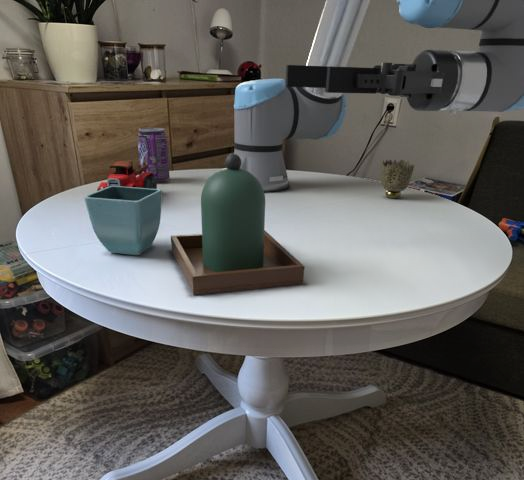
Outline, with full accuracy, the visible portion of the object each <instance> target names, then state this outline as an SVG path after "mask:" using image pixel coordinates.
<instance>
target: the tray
mask: <svg viewBox="0 0 524 480" xmlns="http://www.w3.org/2000/svg"><path fill="white" fill-rule="evenodd" d="M170 249H171V253H172V255H173V257H174V259H175V261H176V263H177V265H178V267H179V269H180V271H181V273H182V275H183V277H184V279H185V281H186V283H187V285H188V287H189V289H190V291H191V293H192V295H193V296H197V295H199V296H200V295H208V294H217V293H227V292H236V291H244V290H246V291H247V290H254V289H263V288H265V289H266V288H275V287H284V286H295V285H303V284H304V282H305V281H304V280H305V267H306V266H305V264H303V263H301V261H299V260H298V259H297V258H296V257H295V256H294V255H293V254H292V253H291V252H290V251H288V250H287V249H286V248H285V247H284V246H283V245H282V244H280V242H279V241H277V240H276V239H275V238H274V237H273V236H272V235H271V234H270V233H269V232H267V231H266V230H265V229H264V256H263V266H262V267H261V268H258V269H247V270H236V271H225V272H215V271H212V270H209V269H208V268H206V267H205V266H204V265H203V247H202V233H193V234H191V233H190V234H177V235H170Z"/></svg>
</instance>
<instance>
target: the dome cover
mask: <svg viewBox="0 0 524 480" xmlns="http://www.w3.org/2000/svg"><path fill="white" fill-rule="evenodd" d="M224 165H225V168H222V169H219V170H217V171H216V172H214V173H213V174H212V175H210V176H209V177H208V179H207V180H206V182H205V183H204V185H203V188H202V190H201V195H200V210H201V211H200V214H201V217H200V218H201V234H202V247H203V265H204V266H205V267H206V268H208V269H209V270H212V271H215V272H225V271H236V270H247V269H258V268H261V267H262V266H263V256H264V230H265V227H266V226H265V225H266V224H265V223H266V220H265V219H266V194H265V192H264V191H263V188H262V186H261V184H260V182H259V181H258V180H257V178H256V177H255V176H254V175H252V174H251V173H250V172H248V171H246V170H244V169H241V168H240V167H241V159H240V157H239V156H238V155H236V154H234V153H230V154H228V155H227V156H226V157H225V160H224Z"/></svg>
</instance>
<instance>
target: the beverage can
mask: <svg viewBox="0 0 524 480" xmlns="http://www.w3.org/2000/svg"><path fill="white" fill-rule="evenodd" d="M168 147H169V146H168V137H167V134H166V132H165V128H162V127H140V128H138V133H137V148H138V149H137V150H138V159H139V165H141V168H142V167H144V166H143V162H146V165H148V169H146V172H152V173H153V174H154V176H155V178H156V182H157V184H158V183H164V182H166V181H167V180H169V179H170V176H171V175H170V163H169V161H170V159H169V148H168ZM143 172H144V171H143ZM143 172H142V173H143ZM142 173H141V174H142Z"/></svg>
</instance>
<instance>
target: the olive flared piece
mask: <svg viewBox="0 0 524 480" xmlns="http://www.w3.org/2000/svg"><path fill="white" fill-rule="evenodd" d="M380 169H381V173H380V182H381V186H382V188H383V189H384V190H385V193H384V195H385V197H386V198H388V199H399V198H401V196H402V192H403V191H404V190H406V189H407V188H408V186H409V184H410V182H411V179H412V176H413V171H414V169H415V162H412V163H411V164H410V161H409V160H407V161H405V160H403V159H400V160H399V161H397V159H394V160H393V161H392V160H391V159H389V160H388V159H386V160H385V161H384V159H382V161H381V168H380Z"/></svg>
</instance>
